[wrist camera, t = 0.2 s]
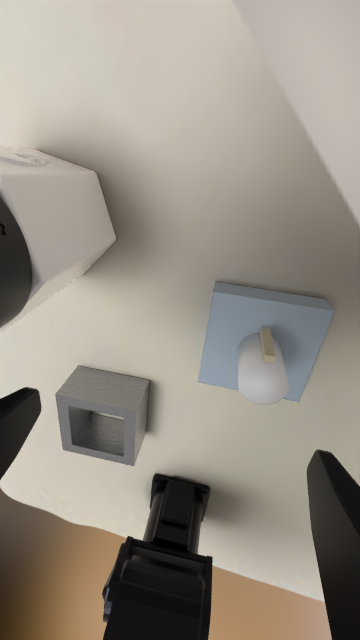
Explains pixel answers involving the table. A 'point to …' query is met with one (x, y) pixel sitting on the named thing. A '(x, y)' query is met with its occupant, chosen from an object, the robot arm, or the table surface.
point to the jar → (46, 228)
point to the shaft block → (263, 341)
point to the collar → (100, 431)
